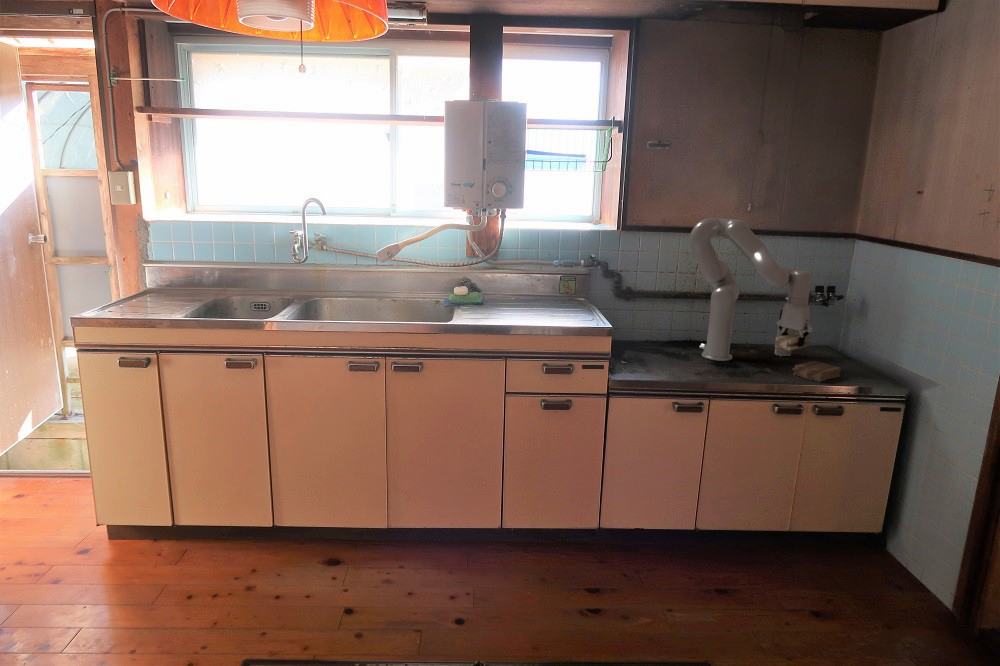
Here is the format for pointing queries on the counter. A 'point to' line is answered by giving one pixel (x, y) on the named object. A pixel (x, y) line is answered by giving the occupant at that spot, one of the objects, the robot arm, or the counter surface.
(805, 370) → the brown grooved flat slab
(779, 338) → the maple plank
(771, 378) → the counter surface
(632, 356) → the counter surface
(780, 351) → the spray can
